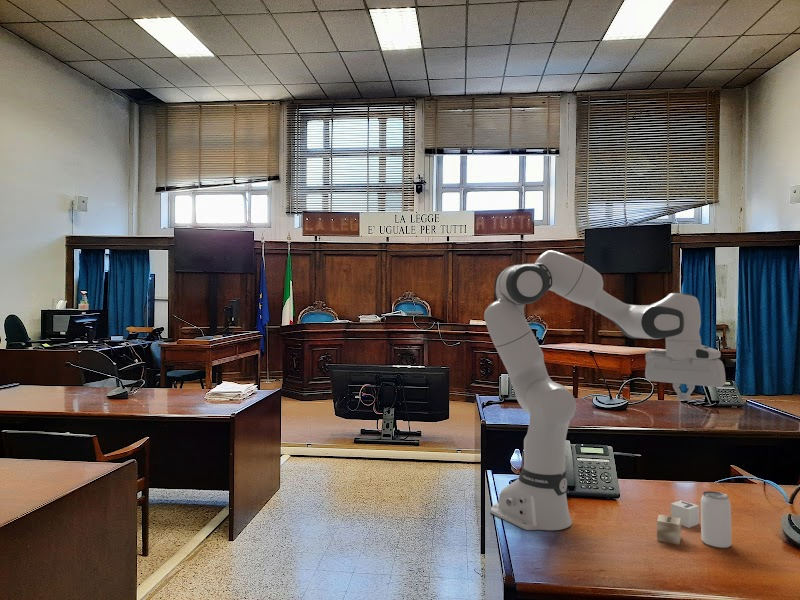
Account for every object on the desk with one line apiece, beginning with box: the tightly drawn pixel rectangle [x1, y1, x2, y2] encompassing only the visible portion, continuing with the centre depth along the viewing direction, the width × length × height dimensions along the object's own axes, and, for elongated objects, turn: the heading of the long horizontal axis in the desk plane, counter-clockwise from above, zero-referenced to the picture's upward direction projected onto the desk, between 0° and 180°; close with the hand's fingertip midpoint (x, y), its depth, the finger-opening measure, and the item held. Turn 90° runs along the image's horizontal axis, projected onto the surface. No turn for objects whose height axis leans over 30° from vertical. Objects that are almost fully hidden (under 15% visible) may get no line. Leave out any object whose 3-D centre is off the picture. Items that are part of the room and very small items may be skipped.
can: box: [700, 490, 732, 549], centre depth 133 cm, size 6×6×12 cm
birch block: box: [656, 514, 682, 546], centre depth 135 cm, size 5×5×5 cm
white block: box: [670, 499, 700, 529], centre depth 145 cm, size 5×5×5 cm
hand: (683, 399), depth 149 cm, fingers closed
